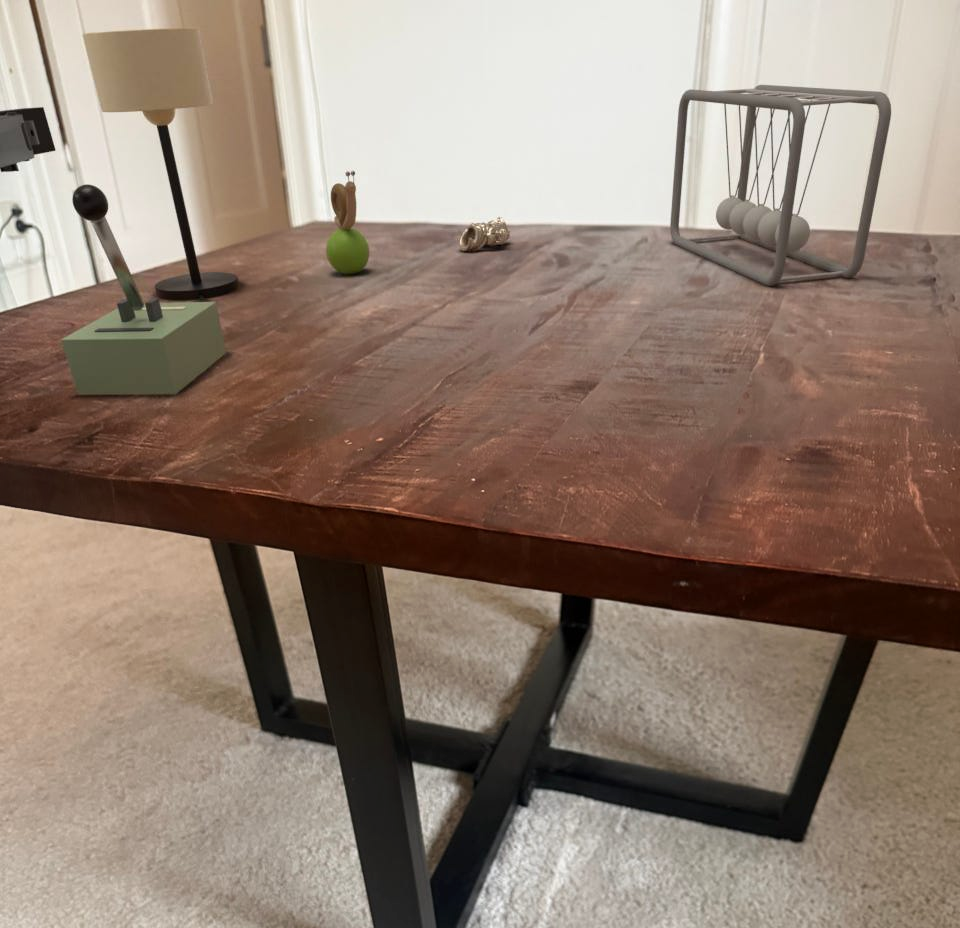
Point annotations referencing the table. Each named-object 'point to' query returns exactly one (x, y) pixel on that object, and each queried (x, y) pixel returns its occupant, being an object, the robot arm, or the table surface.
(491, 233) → the ornament
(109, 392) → the switch box
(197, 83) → the desk lamp
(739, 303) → the table surface
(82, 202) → the toggle lever
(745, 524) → the table surface
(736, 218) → the newton's cradle
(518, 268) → the table surface
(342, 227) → the snail figurine
